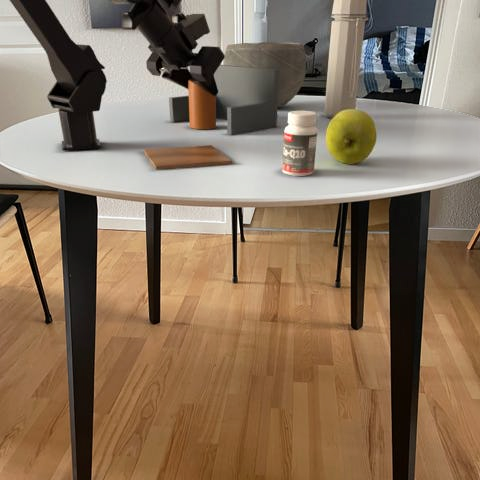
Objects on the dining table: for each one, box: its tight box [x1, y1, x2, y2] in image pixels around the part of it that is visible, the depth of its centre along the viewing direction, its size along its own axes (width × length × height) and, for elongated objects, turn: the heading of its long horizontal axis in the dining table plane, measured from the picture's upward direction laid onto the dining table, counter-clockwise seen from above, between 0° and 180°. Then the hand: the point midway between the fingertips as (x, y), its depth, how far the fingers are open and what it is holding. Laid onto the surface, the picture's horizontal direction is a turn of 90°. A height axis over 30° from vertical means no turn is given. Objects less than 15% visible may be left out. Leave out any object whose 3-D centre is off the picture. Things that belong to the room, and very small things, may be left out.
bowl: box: [223, 41, 307, 107], centre depth 127 cm, size 21×21×15 cm
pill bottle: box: [282, 110, 318, 177], centre depth 72 cm, size 5×5×8 cm
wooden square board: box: [143, 144, 232, 171], centre depth 82 cm, size 12×12×1 cm
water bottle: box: [323, 0, 369, 119], centre depth 111 cm, size 9×8×25 cm
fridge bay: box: [168, 64, 279, 136], centre depth 106 cm, size 13×20×11 cm, turn 43°
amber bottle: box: [187, 79, 217, 130], centre depth 103 cm, size 6×6×12 cm
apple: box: [325, 108, 378, 165], centre depth 78 cm, size 8×9×8 cm
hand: (207, 92), depth 103 cm, fingers closed on amber bottle, 5 cm apart
